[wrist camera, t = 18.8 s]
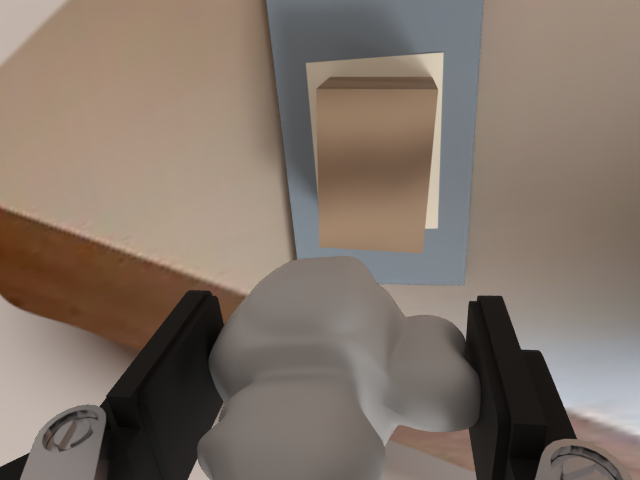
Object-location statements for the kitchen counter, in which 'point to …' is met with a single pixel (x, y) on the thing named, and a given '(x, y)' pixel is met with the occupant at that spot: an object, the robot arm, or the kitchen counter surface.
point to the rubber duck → (329, 377)
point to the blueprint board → (383, 61)
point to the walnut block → (374, 161)
